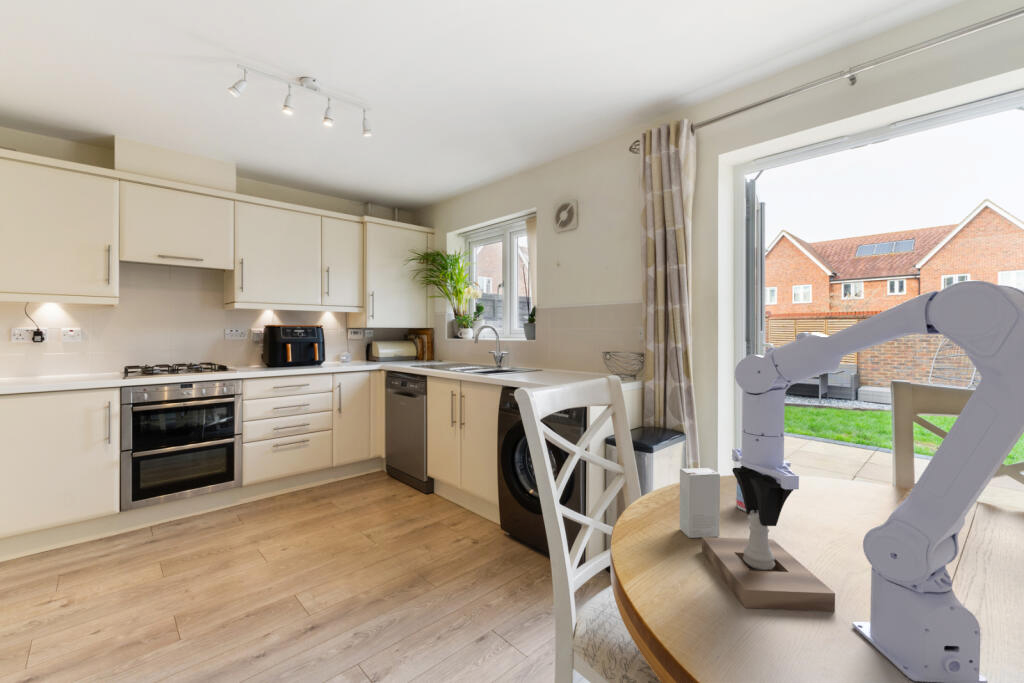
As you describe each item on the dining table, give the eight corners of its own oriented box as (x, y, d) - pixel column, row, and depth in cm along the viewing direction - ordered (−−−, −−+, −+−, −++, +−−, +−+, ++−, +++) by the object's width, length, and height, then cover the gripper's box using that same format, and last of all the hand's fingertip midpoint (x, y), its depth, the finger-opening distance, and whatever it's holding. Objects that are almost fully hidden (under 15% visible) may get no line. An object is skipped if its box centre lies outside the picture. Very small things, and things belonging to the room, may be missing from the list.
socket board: (834, 611, 61) (835, 593, 60) (744, 607, 61) (745, 589, 61) (772, 553, 76) (772, 539, 76) (701, 551, 77) (702, 537, 77)
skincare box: (707, 528, 87) (708, 466, 86) (720, 538, 82) (721, 473, 82) (677, 529, 86) (678, 467, 86) (689, 539, 82) (690, 474, 81)
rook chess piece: (774, 574, 66) (774, 521, 66) (741, 566, 68) (741, 514, 68) (776, 561, 70) (776, 511, 69) (744, 553, 72) (744, 505, 72)
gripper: (821, 444, 61) (819, 541, 61) (761, 423, 76) (760, 502, 76) (770, 444, 61) (769, 541, 61) (720, 423, 76) (719, 501, 76)
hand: (761, 519), depth 69 cm, fingers closed on rook chess piece, 3 cm apart
